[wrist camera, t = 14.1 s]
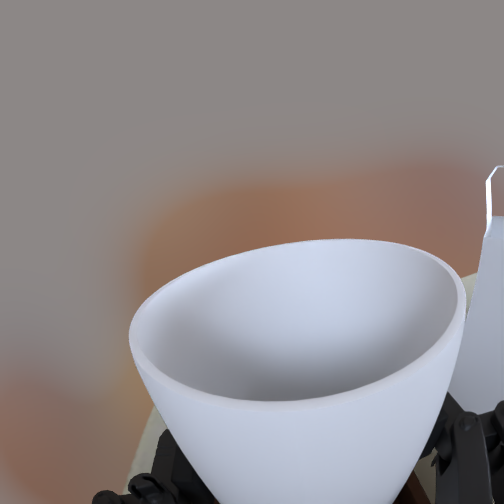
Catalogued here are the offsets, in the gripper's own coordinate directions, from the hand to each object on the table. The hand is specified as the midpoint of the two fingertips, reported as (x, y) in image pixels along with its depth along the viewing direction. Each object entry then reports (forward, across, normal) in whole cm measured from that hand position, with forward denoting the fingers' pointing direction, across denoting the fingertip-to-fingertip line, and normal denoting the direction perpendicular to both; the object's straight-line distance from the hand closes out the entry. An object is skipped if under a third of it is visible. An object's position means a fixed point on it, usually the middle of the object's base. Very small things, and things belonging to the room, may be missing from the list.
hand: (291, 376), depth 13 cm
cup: (-5, 0, -9) cm, 10 cm away
